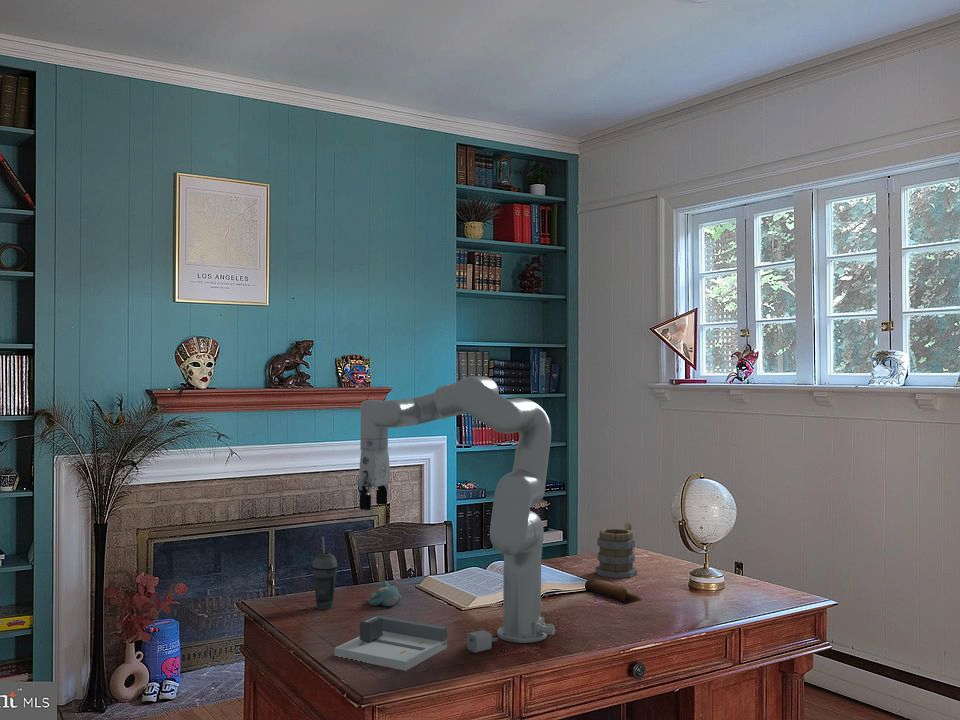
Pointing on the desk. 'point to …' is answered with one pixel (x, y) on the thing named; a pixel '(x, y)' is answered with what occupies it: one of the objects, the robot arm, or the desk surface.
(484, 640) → the usb wall charger
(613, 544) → the tankard
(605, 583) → the sunglasses case
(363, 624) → the fader knob
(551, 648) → the desk surface
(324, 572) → the beverage cup
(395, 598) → the stuffed animal
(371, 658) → the console
